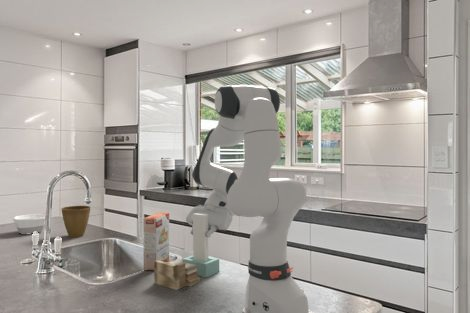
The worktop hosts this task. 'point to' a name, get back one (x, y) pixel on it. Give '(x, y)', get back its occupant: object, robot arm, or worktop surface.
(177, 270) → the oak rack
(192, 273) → the offcut stack
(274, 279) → the robot arm
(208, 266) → the teal holder
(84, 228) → the plant pot
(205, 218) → the white strip
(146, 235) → the cracker box
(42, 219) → the bowl
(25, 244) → the worktop surface
